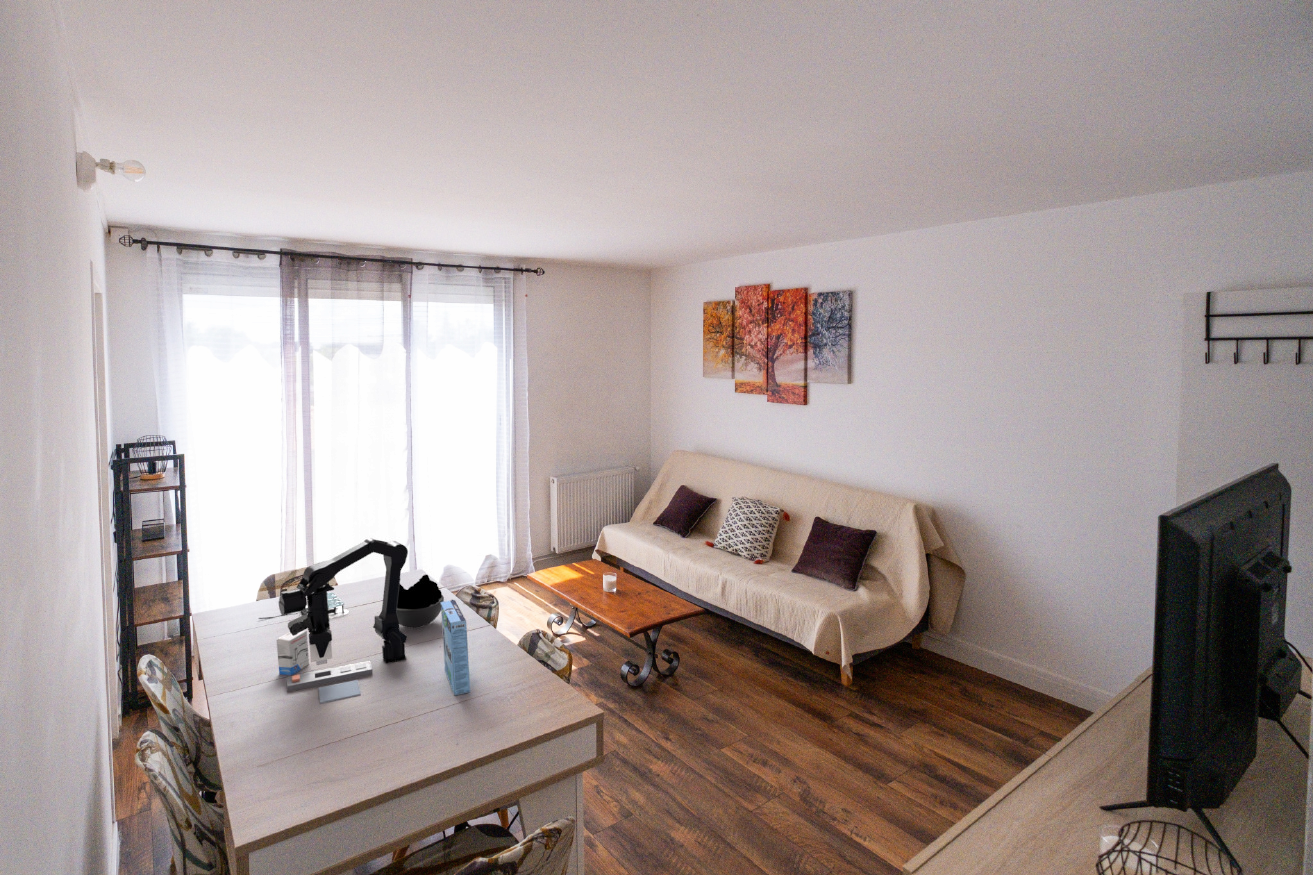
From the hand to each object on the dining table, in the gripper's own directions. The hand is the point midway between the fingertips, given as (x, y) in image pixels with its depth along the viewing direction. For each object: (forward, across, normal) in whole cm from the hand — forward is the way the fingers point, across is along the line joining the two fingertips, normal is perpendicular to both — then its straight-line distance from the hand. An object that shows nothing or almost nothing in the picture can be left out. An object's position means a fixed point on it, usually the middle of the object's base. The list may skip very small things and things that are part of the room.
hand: (321, 654), depth 220 cm
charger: (+3, 0, 0) cm, 3 cm away
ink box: (+9, -13, -8) cm, 18 cm away
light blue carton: (+9, +20, +37) cm, 43 cm away
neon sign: (+9, -64, -4) cm, 65 cm away
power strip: (+9, 0, +2) cm, 9 cm away
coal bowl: (+9, -31, +33) cm, 46 cm away
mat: (+9, +11, +4) cm, 15 cm away
